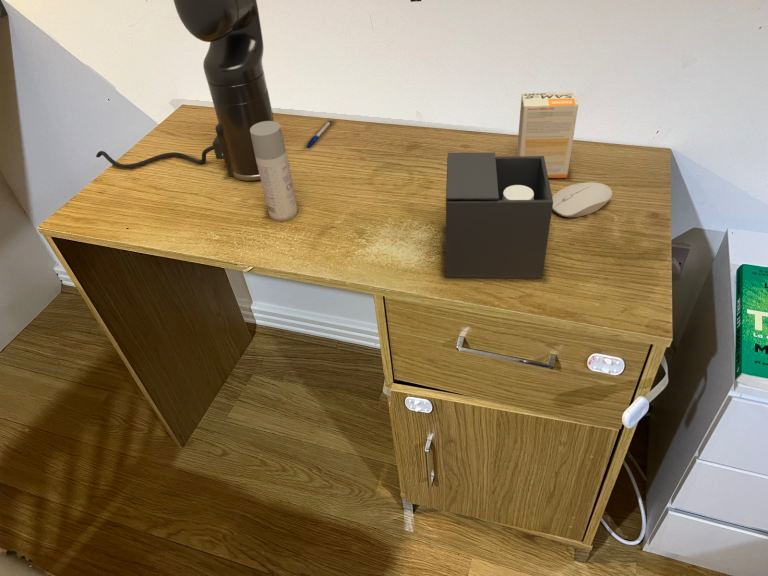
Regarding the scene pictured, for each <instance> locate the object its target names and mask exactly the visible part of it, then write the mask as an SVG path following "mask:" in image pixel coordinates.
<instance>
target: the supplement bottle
mask: <svg viewBox="0 0 768 576" xmlns="http://www.w3.org/2000/svg"><path fill="white" fill-rule="evenodd" d="M502 200H534V192H533V190H532V189H531V188H529V187H527V186H523V185H513V186H509V187H507V188H506V189H505V190H504V192H503V198H502Z"/></svg>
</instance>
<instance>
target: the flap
mask: <svg viewBox="0 0 768 576" xmlns="http://www.w3.org/2000/svg"><path fill="white" fill-rule="evenodd" d="M447 157H448V166H447V165H446V184H447V199H499V194H498V183H497V171H496V159H495V157H496V152H447Z"/></svg>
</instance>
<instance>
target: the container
mask: <svg viewBox="0 0 768 576" xmlns="http://www.w3.org/2000/svg"><path fill="white" fill-rule="evenodd" d="M250 134H251V139H252V143H253V148H254V153H255V158H256V162H257V166H258V171H259V175H260V179H261V180H260V183H261V186H262V191H263V195H264V200H265V203H266V208H267V211H268V215H269V218H270V219H272V220H274V221H276V222H285V221H289V220H291V219H293V218H295V217H296V216H297V214H298V212H299V209H298V203H297V199H296V194H295V189H294V183H293V179H292V173H291V169H290V164H289V163H290V162H289V158H288V154H287V150H286V146H285V141H284V136H283V131H282V129H281V124H280V123H278V122H277V121H275V120H274V121H263V122H259V123H257V124H255V125H253V126H252V127H251V128H250Z"/></svg>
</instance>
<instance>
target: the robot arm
mask: <svg viewBox="0 0 768 576" xmlns="http://www.w3.org/2000/svg"><path fill="white" fill-rule="evenodd" d="M410 2H411V3H414V2H416V3H417V2H422V0H410ZM173 4H174V7H175V10H176V13H177V15H178V17H179V19H180V21H181V23H182V24H183V26H184V28H185V29H186V30H187V31H188V32H189V33H190V35H191V36H193V37H194V38H196V39H197V40H199V41H201V42H205V43H209V46H208V50H207V52H206V55H205V57H204V59H203V63H202V65H203V66H202V67H203V72H204V75H205V79H206V82H207V85H208V89H209V94H210V97H211V100H212V103H213V109H214V111H215V115H216V120H217V124H216V125H215V133H216V136H215V138H214V139H213V141H212V143H211V144H212V145H210V146H208V147H206V148H205V149H204V150H202V152H201V159H195V158H193V157H191V156H190V155H187V154H185V153H181V152H173V151H172V152H166V153H161V154H158V155H155V156H152V157H149V158H147V159H144V160H140V161H137V162H134V163H127V164H126V163H119V162H118V161H116V160H114V159H113V158H112V157H111V156H110V155H109V154H108V153H107V152H106V151H104V150H99V151H98V152H97V153H96V155H95V157H96V158H100V157H102V156H103V158H105V159H106V161H108V162H109V163H110V164H111V165H113V166H115V167H117V168H120V169H135V168H138V167H141V166H145V165H147V164H151V163H153V162H155V161H159V160H161V159H165V158H170V157H171V158H172V157H178V158H181V159H184V160H187V161H189V162H191V163H194V164H197V165H203V164H206V161H207V155H208V154H209V153H210V152H211V151H213V152H214V154H215V158H216V160H223V161H224V165H225V169H226V172H227V176H228V177H232V178H233V177H234V178H236V179H238V180H239V181H240V180H241V181H245V182H256V181H261V179H260V175H259V171H258V166H257V162H256V158H255V153H254V148H253V143H252V139H251V134H250V128H251V127H252V126H253V125H255V124H257V123H259V122H263V121H274V122H275V119H274V118H275V117H274V115H273V114H274V113H273V109H272V104H271V100H270V94H269V89H268V85H267V80H266V75H265V70H264V65H263V56H264V39H263V33H262V26H261V25H262V24H261V19H260V11H259V7H258V2H257V0H173Z"/></svg>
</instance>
